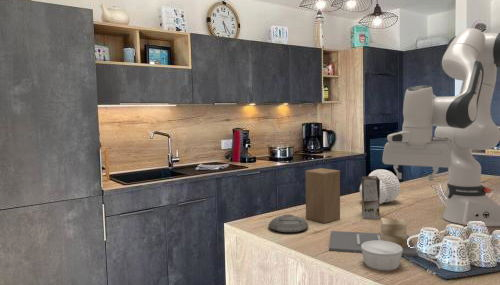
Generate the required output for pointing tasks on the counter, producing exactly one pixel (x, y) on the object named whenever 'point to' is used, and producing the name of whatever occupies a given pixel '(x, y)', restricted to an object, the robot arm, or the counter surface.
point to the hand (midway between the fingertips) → (414, 179)
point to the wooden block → (323, 195)
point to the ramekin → (382, 254)
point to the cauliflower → (386, 185)
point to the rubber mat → (360, 242)
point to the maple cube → (394, 231)
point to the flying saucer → (288, 223)
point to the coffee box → (370, 197)
